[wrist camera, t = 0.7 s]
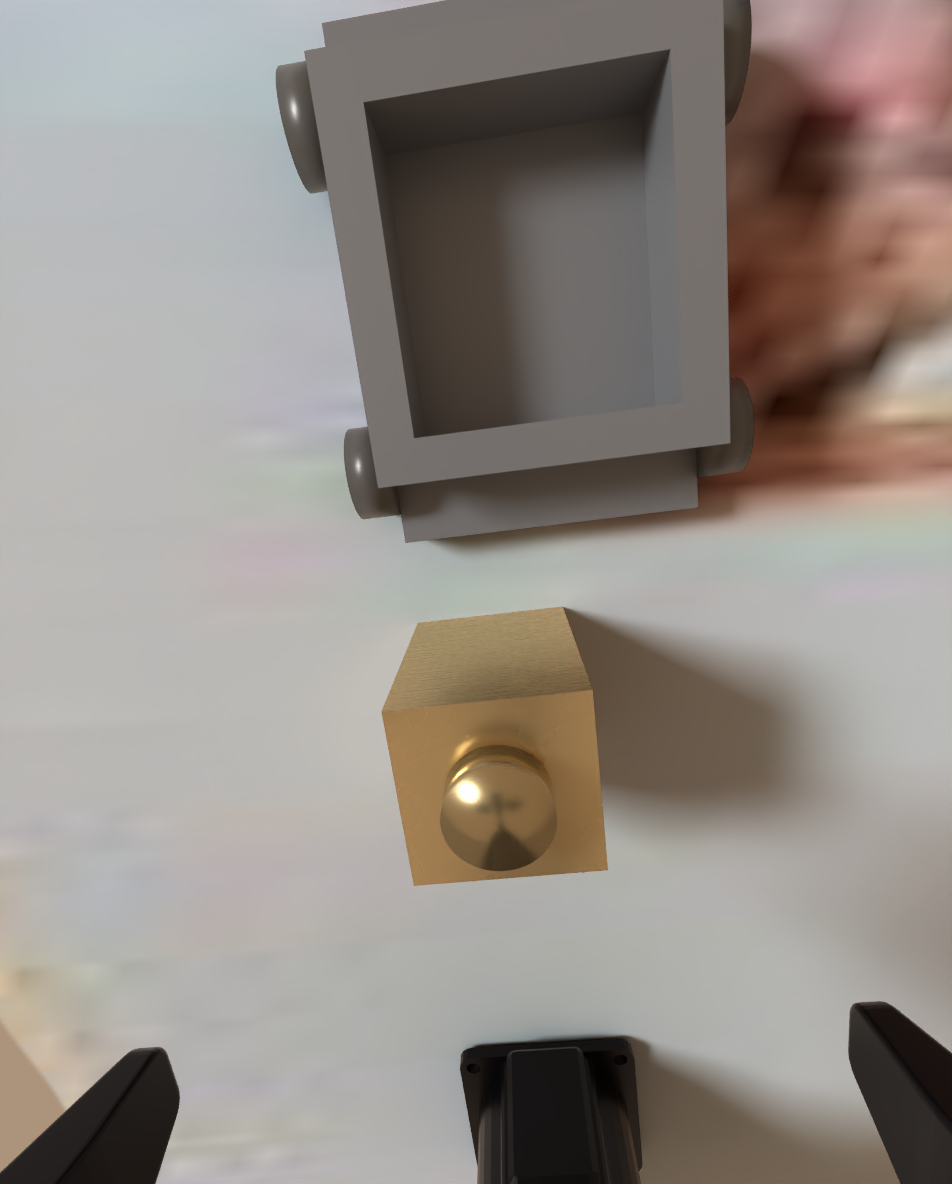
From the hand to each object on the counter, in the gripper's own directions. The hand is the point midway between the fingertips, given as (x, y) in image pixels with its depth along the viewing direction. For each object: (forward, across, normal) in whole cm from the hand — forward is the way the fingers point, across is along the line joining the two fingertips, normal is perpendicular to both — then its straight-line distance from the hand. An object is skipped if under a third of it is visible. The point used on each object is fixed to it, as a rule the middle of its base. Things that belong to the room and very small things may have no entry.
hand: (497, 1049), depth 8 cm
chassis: (+11, -2, -11) cm, 16 cm away
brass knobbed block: (+12, 0, 0) cm, 12 cm away
